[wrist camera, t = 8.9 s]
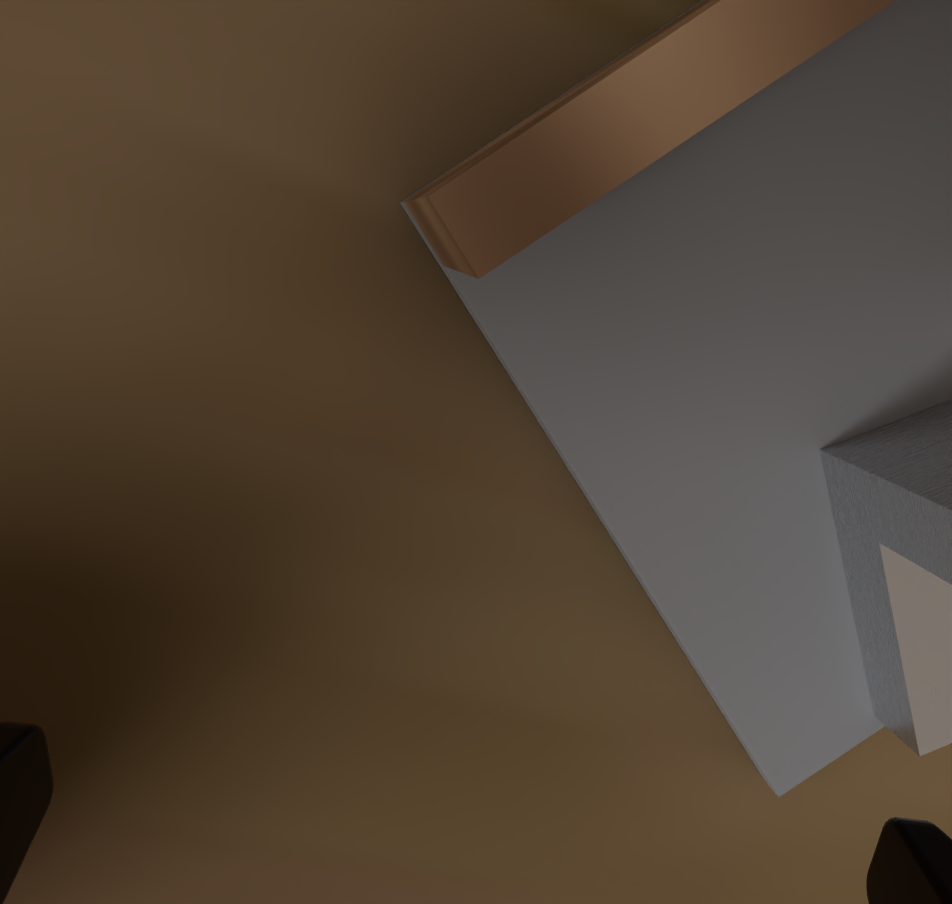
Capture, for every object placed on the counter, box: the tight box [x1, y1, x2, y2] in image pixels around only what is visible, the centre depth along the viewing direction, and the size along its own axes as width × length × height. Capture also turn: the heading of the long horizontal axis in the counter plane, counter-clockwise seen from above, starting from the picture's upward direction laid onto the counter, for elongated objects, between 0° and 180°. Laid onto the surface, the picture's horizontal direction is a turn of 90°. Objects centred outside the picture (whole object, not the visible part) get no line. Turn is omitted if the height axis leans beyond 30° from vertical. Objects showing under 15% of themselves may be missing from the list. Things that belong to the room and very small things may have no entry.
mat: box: [400, 0, 952, 797], centre depth 20 cm, size 16×18×1 cm
